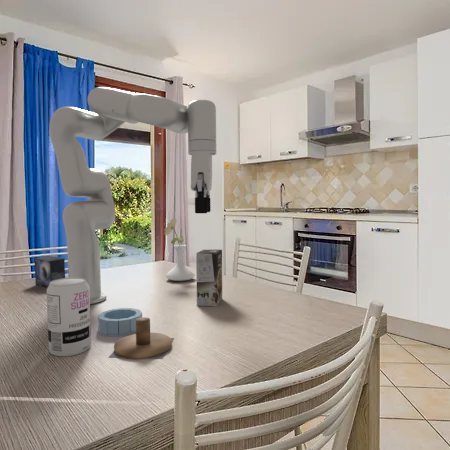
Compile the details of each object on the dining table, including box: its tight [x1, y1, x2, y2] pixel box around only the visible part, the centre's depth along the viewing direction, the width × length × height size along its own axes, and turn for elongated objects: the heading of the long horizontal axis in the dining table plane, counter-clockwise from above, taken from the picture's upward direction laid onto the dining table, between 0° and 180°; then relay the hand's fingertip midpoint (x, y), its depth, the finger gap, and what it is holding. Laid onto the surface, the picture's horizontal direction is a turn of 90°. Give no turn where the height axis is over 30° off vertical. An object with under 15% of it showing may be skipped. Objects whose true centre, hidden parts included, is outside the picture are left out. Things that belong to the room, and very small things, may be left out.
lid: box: [113, 316, 173, 360], centre depth 80 cm, size 12×12×6 cm
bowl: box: [97, 307, 143, 337], centre depth 91 cm, size 10×10×4 cm
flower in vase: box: [163, 217, 196, 282], centre depth 147 cm, size 13×11×25 cm
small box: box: [33, 255, 66, 289], centre depth 140 cm, size 11×6×10 cm, turn 56°
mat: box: [108, 337, 175, 360], centre depth 80 cm, size 11×11×1 cm
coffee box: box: [195, 249, 223, 308], centre depth 115 cm, size 9×6×16 cm
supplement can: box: [46, 277, 92, 357], centre depth 79 cm, size 8×8×15 cm
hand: (203, 212), depth 101 cm, fingers open, 9 cm apart
